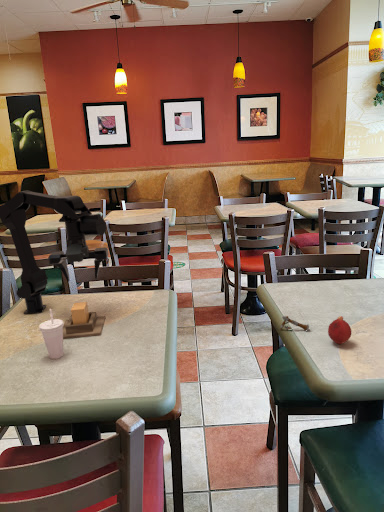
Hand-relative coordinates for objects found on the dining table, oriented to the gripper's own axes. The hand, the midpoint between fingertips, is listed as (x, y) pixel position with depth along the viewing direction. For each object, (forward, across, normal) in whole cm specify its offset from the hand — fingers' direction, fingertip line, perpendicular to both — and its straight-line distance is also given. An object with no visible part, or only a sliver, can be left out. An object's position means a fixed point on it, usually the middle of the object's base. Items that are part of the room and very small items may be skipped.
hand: (82, 279), depth 133 cm
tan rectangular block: (+12, 0, -10) cm, 16 cm away
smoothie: (+13, -4, -27) cm, 30 cm away
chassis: (+13, 0, -10) cm, 17 cm away
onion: (+13, +72, -38) cm, 83 cm away
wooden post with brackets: (+13, +64, -28) cm, 71 cm away
